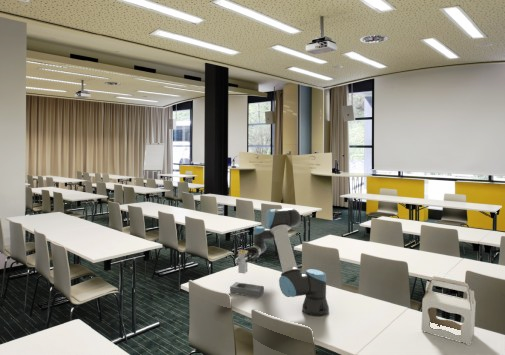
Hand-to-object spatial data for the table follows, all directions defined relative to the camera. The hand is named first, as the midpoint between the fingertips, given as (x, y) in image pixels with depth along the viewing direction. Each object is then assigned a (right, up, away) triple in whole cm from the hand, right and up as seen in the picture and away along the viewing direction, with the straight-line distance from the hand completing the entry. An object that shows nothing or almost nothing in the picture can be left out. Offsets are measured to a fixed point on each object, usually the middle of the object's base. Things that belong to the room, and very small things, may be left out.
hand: (239, 261), depth 239 cm
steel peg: (+2, -8, +6) cm, 10 cm away
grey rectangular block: (+5, -21, +5) cm, 22 cm away
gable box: (+108, -26, -47) cm, 120 cm away
